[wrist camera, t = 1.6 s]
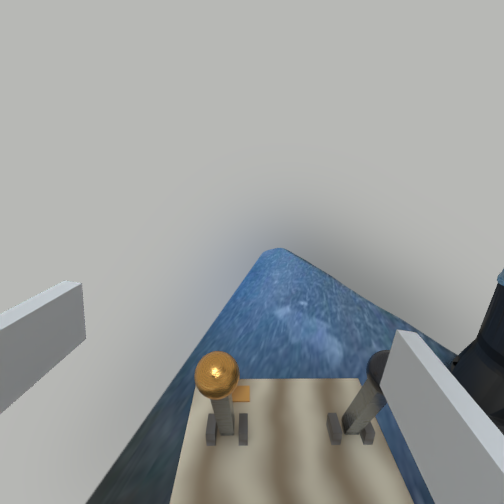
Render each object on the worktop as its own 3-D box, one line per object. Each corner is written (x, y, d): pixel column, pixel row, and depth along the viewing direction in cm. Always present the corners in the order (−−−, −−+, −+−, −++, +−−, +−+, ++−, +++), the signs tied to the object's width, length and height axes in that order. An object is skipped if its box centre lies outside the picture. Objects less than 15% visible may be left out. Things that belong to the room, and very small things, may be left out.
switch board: (356, 388, 40) (360, 367, 39) (417, 534, 25) (428, 510, 24) (198, 389, 40) (196, 368, 39) (167, 536, 25) (162, 512, 24)
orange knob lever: (243, 411, 33) (239, 342, 22) (243, 447, 31) (238, 388, 20) (213, 411, 33) (195, 342, 22) (210, 447, 31) (187, 389, 20)
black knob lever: (359, 410, 33) (411, 341, 22) (368, 446, 31) (433, 387, 20) (329, 410, 33) (367, 341, 22) (336, 446, 31) (383, 388, 20)
